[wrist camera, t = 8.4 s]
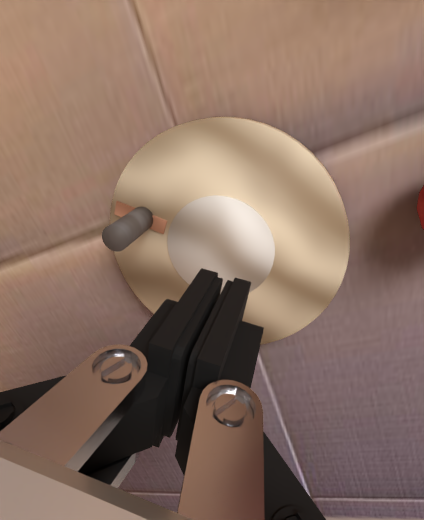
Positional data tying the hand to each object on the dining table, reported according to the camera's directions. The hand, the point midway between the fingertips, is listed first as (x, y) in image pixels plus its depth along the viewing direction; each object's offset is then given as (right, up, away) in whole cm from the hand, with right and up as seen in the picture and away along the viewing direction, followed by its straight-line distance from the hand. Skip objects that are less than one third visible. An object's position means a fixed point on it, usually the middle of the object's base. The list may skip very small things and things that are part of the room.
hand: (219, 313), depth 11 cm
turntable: (+1, +4, +19) cm, 19 cm away
